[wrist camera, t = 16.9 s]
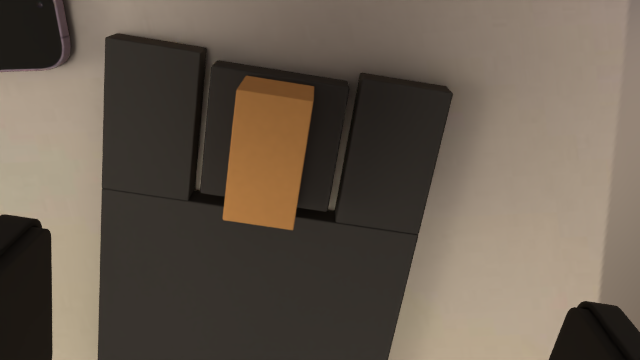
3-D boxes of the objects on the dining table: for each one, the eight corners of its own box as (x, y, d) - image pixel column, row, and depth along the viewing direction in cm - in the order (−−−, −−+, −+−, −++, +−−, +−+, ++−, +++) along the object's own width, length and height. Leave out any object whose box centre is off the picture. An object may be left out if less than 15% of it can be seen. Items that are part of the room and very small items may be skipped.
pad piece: (216, 59, 28) (197, 78, 23) (348, 81, 28) (352, 102, 24) (205, 182, 30) (185, 219, 26) (327, 200, 30) (327, 240, 26)
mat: (116, 33, 27) (104, 37, 26) (447, 86, 28) (453, 92, 27) (105, 373, 34) (96, 390, 33) (369, 407, 35) (371, 426, 34)
